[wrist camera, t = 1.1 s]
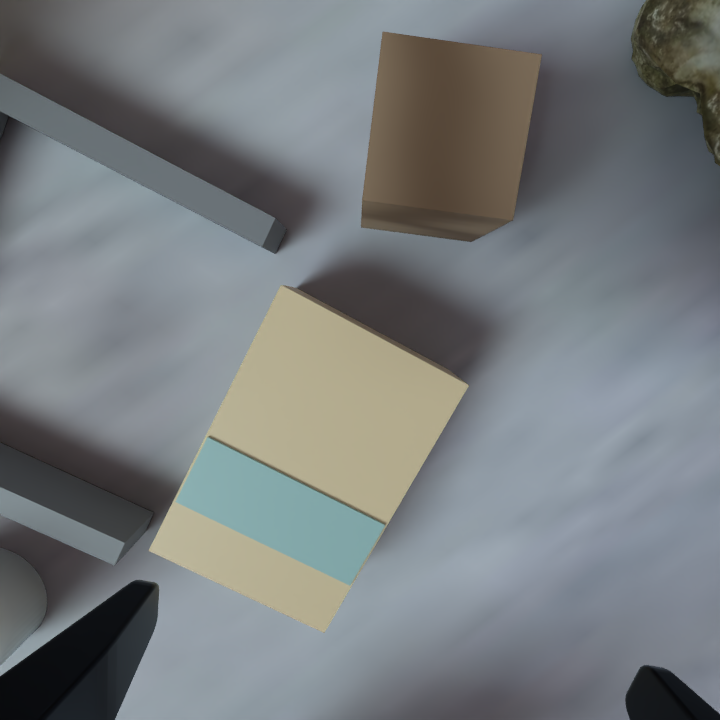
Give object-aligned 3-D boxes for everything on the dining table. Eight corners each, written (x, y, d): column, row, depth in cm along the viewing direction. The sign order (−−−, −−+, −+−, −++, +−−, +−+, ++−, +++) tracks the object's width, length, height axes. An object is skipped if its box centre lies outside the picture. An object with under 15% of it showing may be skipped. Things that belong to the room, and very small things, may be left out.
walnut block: (489, 124, 17) (541, 54, 13) (470, 242, 18) (513, 220, 13) (375, 108, 17) (382, 31, 12) (361, 227, 18) (362, 199, 13)
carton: (446, 367, 19) (469, 385, 15) (330, 569, 21) (324, 635, 17) (297, 288, 19) (280, 284, 15) (189, 501, 20) (147, 552, 16)
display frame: (286, 229, 18) (275, 217, 15) (144, 532, 20) (114, 565, 18) (-9, 74, 17) (-72, 36, 15) (-126, 410, 19) (-198, 427, 17)
